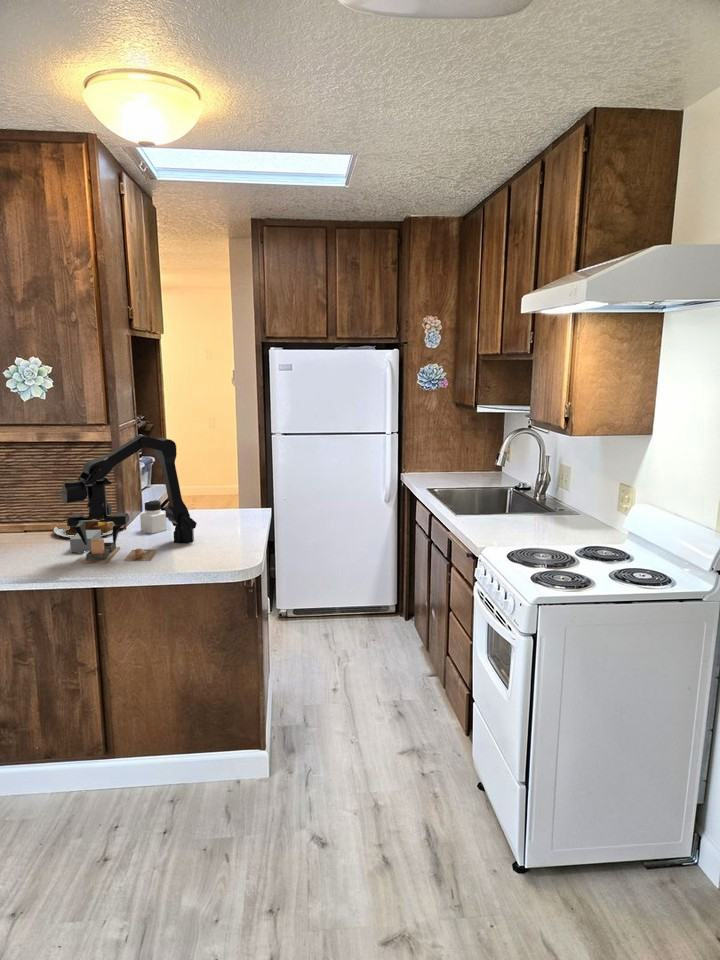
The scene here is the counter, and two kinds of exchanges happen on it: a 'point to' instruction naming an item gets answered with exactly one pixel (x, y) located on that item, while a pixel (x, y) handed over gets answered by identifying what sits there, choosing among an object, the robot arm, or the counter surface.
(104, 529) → the food on plate
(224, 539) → the counter surface
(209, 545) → the counter surface
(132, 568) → the counter surface
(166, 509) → the robot arm
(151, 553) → the plate
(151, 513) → the medicine bottle
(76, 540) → the housing
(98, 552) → the tan rectangular block
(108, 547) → the socket board
